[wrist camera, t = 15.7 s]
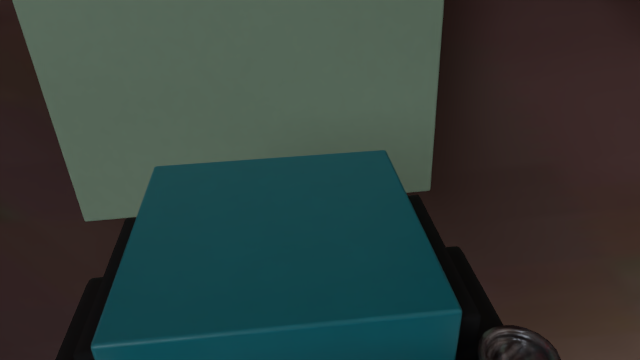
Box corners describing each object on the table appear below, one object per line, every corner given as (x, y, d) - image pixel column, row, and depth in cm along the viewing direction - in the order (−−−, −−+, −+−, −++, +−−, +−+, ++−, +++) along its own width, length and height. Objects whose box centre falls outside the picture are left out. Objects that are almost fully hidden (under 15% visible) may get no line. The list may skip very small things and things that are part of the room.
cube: (386, 148, 11) (465, 310, 7) (379, 316, 14) (434, 511, 10) (153, 165, 11) (87, 347, 7) (189, 334, 14) (158, 547, 9)
